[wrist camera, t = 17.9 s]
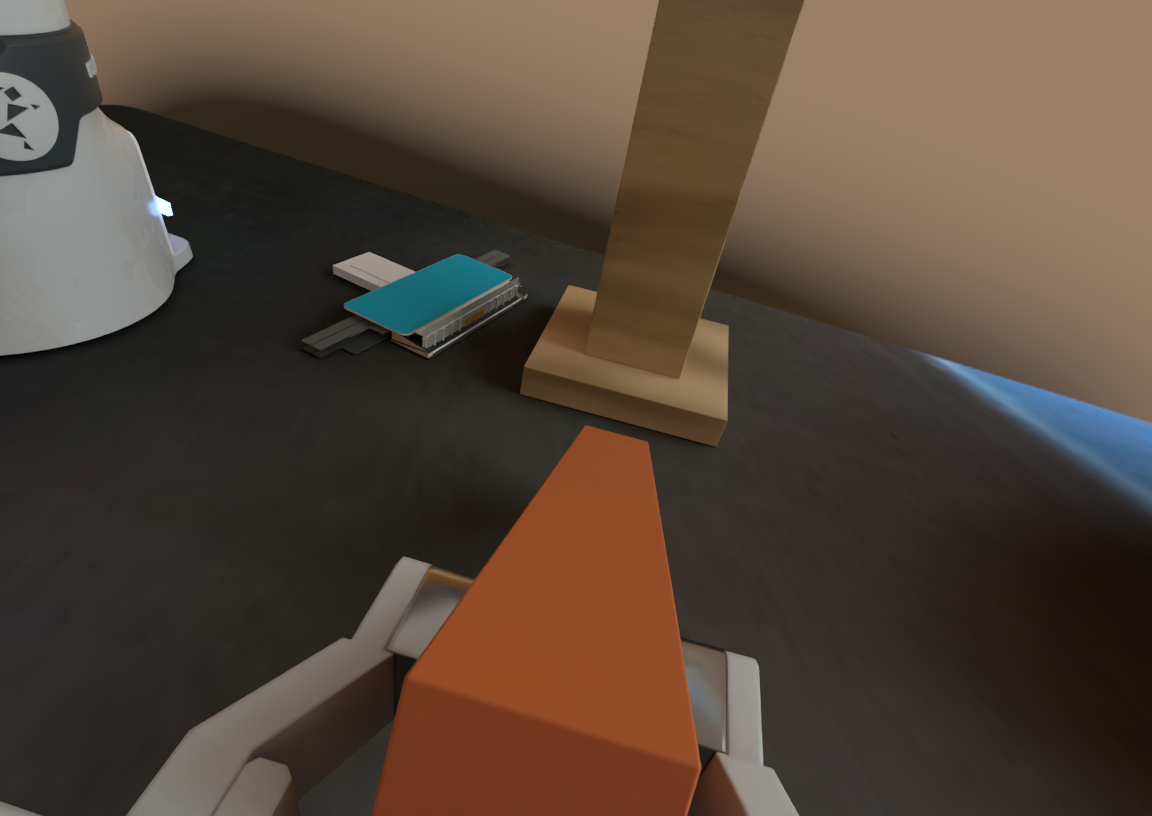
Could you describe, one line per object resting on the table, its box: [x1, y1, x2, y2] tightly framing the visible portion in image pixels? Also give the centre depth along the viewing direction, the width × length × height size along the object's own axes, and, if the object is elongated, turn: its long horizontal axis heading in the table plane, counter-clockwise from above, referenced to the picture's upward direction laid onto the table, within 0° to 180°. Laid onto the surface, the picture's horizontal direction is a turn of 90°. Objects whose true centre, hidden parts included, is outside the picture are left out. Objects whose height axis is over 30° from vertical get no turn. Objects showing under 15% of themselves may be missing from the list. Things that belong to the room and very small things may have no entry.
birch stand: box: [520, 0, 805, 447], centre depth 33 cm, size 16×12×26 cm
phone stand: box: [301, 250, 528, 360], centre depth 43 cm, size 20×12×2 cm, turn 151°
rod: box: [371, 425, 701, 816], centre depth 17 cm, size 22×3×3 cm
